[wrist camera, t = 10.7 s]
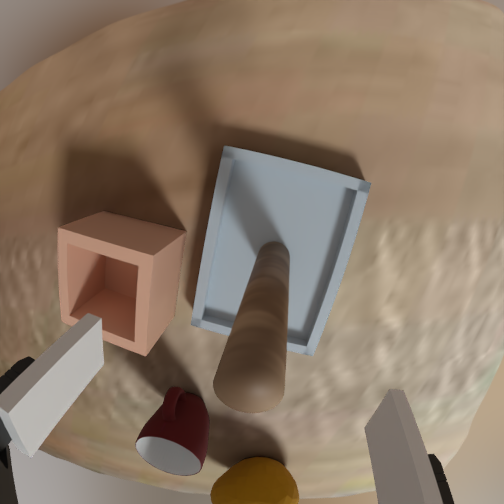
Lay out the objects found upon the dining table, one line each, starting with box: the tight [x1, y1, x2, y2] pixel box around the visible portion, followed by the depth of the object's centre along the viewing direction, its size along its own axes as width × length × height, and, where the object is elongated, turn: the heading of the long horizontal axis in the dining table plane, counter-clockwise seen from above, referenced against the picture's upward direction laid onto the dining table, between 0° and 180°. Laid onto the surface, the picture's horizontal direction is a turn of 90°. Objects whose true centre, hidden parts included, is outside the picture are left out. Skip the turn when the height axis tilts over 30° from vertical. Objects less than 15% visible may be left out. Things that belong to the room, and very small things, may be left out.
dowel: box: [213, 241, 290, 413], centre depth 21 cm, size 3×3×18 cm
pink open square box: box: [58, 211, 187, 356], centre depth 29 cm, size 10×10×8 cm
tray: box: [191, 146, 371, 356], centre depth 29 cm, size 18×13×2 cm
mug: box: [135, 386, 209, 476], centre depth 33 cm, size 10×8×10 cm
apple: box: [210, 457, 299, 504], centre depth 35 cm, size 13×13×11 cm
